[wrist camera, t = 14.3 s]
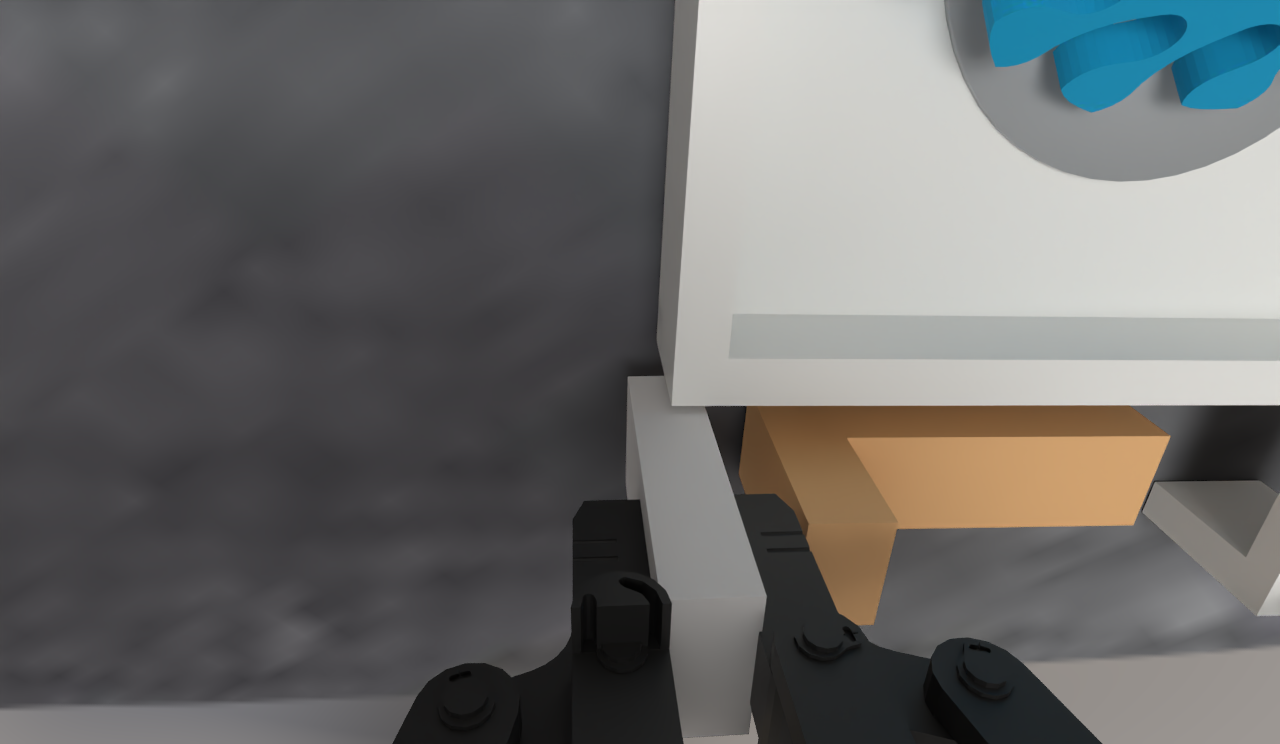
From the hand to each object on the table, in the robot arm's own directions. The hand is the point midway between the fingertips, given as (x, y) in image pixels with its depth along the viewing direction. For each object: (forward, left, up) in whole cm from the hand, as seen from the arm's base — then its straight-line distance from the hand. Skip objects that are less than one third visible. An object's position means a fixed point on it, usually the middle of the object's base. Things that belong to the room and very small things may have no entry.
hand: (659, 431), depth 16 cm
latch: (+7, -1, -1) cm, 7 cm away
